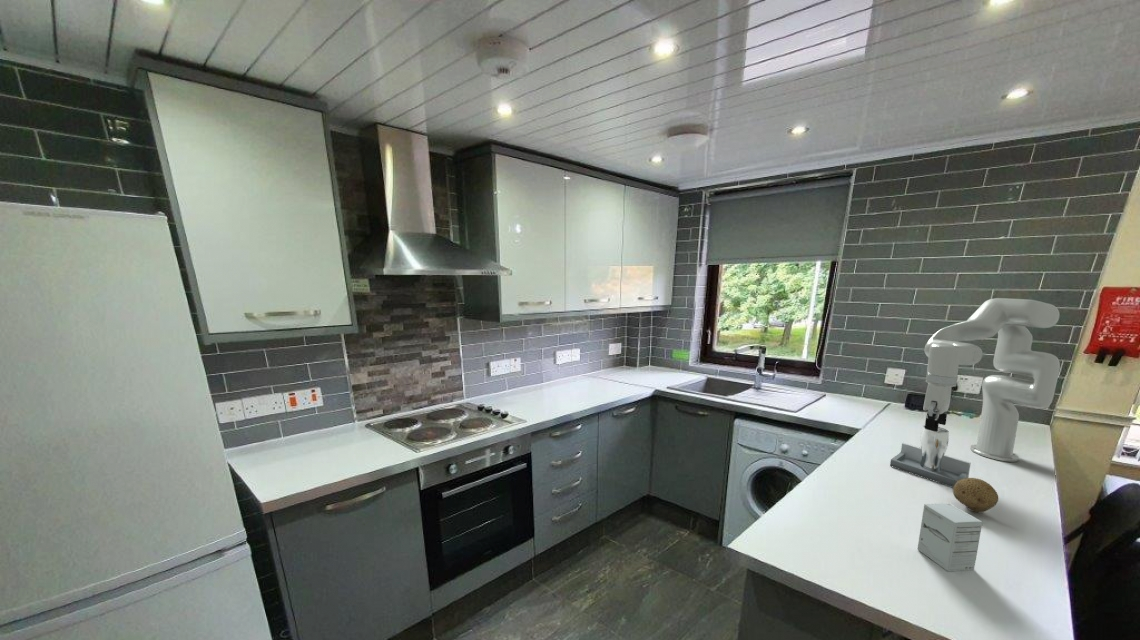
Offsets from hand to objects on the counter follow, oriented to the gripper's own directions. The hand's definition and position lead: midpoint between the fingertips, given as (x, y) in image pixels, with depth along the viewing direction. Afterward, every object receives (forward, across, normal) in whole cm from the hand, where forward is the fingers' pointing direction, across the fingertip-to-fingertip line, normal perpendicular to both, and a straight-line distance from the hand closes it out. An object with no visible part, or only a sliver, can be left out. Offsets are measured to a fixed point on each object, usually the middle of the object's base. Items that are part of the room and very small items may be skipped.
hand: (935, 426), depth 132 cm
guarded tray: (+17, +1, 0) cm, 17 cm away
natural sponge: (+16, +20, +14) cm, 29 cm away
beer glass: (+16, 0, 0) cm, 16 cm away
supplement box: (+16, +54, +15) cm, 58 cm away
